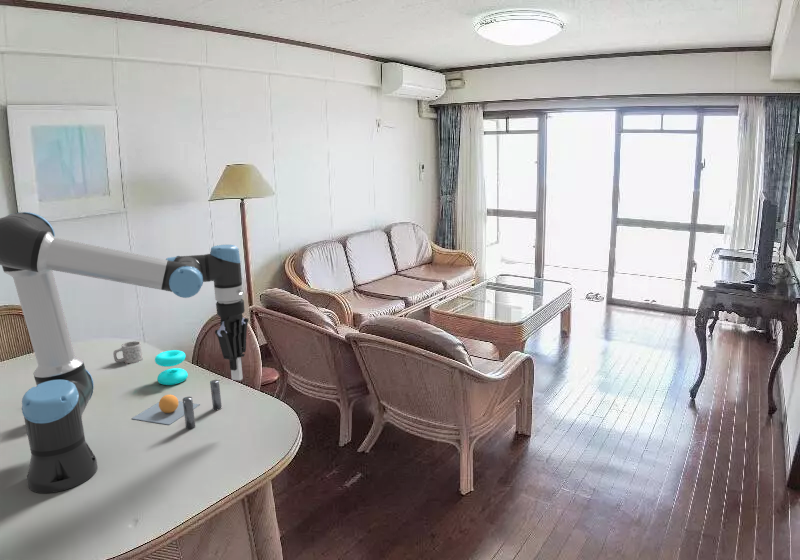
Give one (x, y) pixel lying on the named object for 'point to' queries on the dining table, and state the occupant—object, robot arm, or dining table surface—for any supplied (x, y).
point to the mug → (130, 352)
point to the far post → (215, 394)
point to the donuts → (172, 374)
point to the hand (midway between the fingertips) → (237, 378)
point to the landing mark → (162, 414)
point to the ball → (168, 403)
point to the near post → (189, 412)
